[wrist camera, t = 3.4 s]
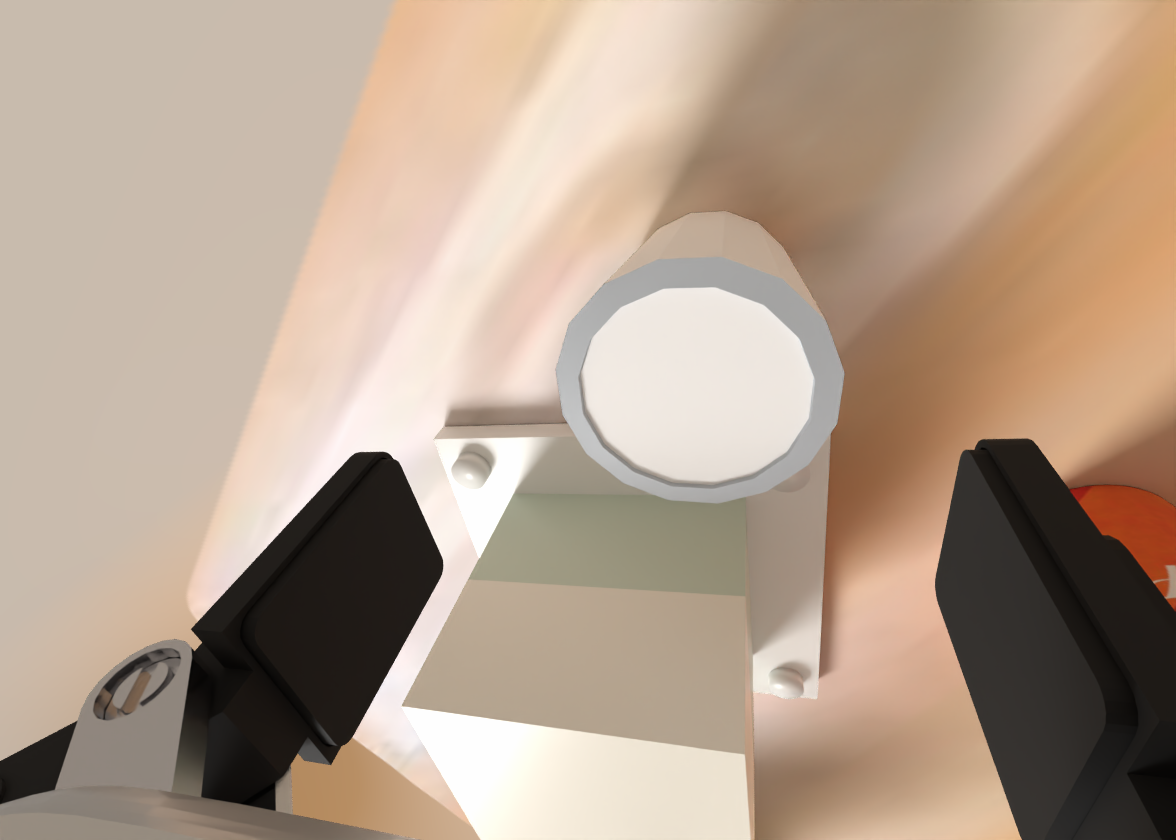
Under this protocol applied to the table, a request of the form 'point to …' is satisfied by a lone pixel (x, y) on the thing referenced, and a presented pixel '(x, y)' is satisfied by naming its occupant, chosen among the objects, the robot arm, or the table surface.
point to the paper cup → (1137, 528)
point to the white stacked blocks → (614, 642)
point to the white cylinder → (702, 365)
